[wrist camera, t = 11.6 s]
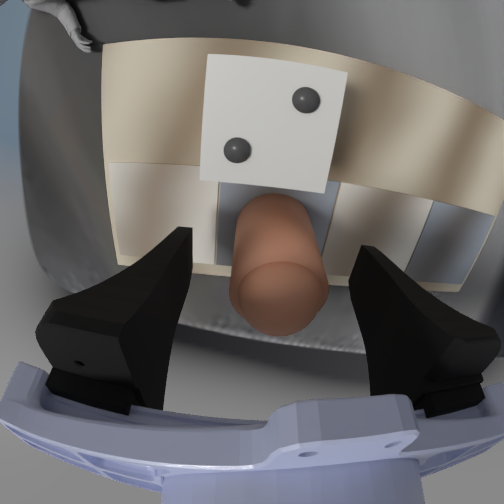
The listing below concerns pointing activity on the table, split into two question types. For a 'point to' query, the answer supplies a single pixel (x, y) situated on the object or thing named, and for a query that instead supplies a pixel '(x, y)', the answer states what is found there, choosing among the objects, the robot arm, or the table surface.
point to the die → (269, 122)
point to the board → (340, 173)
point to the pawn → (277, 266)
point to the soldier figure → (62, 18)
